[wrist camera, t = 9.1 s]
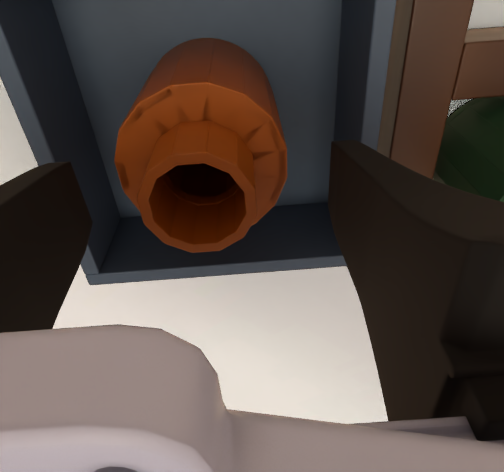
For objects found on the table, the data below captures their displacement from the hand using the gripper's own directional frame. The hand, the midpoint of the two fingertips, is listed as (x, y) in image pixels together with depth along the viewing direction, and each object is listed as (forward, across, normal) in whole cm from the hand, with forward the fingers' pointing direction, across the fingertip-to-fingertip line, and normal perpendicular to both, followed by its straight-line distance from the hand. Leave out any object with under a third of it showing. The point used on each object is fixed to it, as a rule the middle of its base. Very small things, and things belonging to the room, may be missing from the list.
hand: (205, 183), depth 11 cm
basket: (+7, 0, 0) cm, 7 cm away
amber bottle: (+6, 0, 0) cm, 6 cm away
